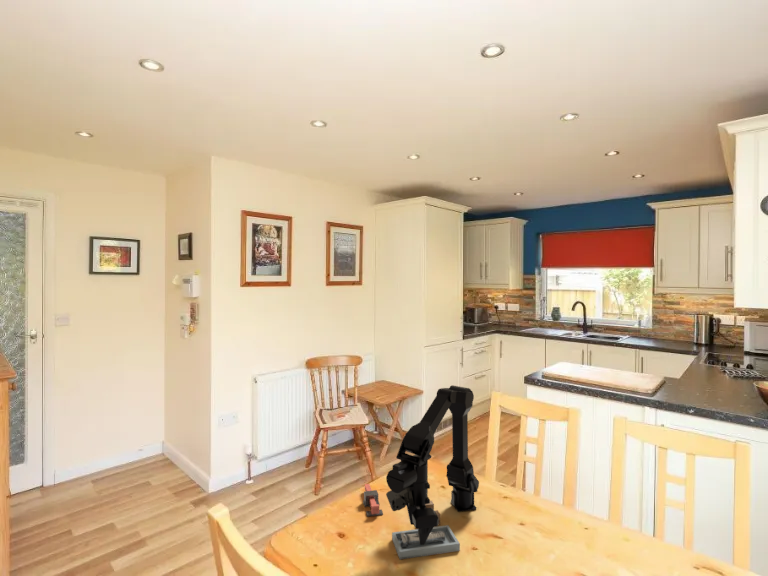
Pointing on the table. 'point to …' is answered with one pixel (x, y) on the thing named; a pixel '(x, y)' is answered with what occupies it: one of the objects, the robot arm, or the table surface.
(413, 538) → the pin
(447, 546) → the tray
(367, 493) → the keeper guide
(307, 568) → the table surface
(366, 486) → the keeper bar
